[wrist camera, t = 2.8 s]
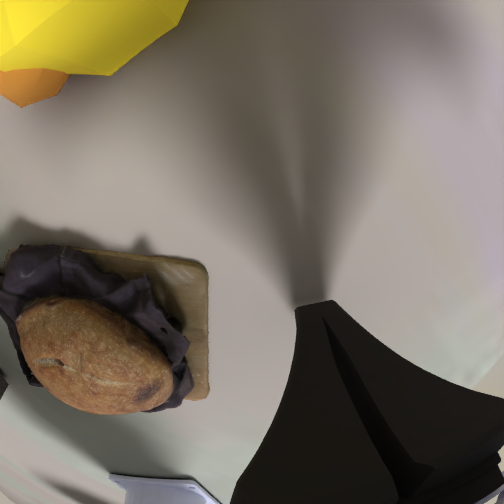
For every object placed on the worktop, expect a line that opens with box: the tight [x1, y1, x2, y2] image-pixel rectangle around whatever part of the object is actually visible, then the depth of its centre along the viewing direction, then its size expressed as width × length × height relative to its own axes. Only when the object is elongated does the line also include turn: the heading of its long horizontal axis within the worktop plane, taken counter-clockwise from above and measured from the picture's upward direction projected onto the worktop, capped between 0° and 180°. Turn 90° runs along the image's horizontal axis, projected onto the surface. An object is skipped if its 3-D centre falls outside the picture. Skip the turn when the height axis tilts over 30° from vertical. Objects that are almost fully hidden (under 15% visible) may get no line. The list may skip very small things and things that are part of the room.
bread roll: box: [0, 244, 210, 415], centre depth 10 cm, size 11×8×4 cm
